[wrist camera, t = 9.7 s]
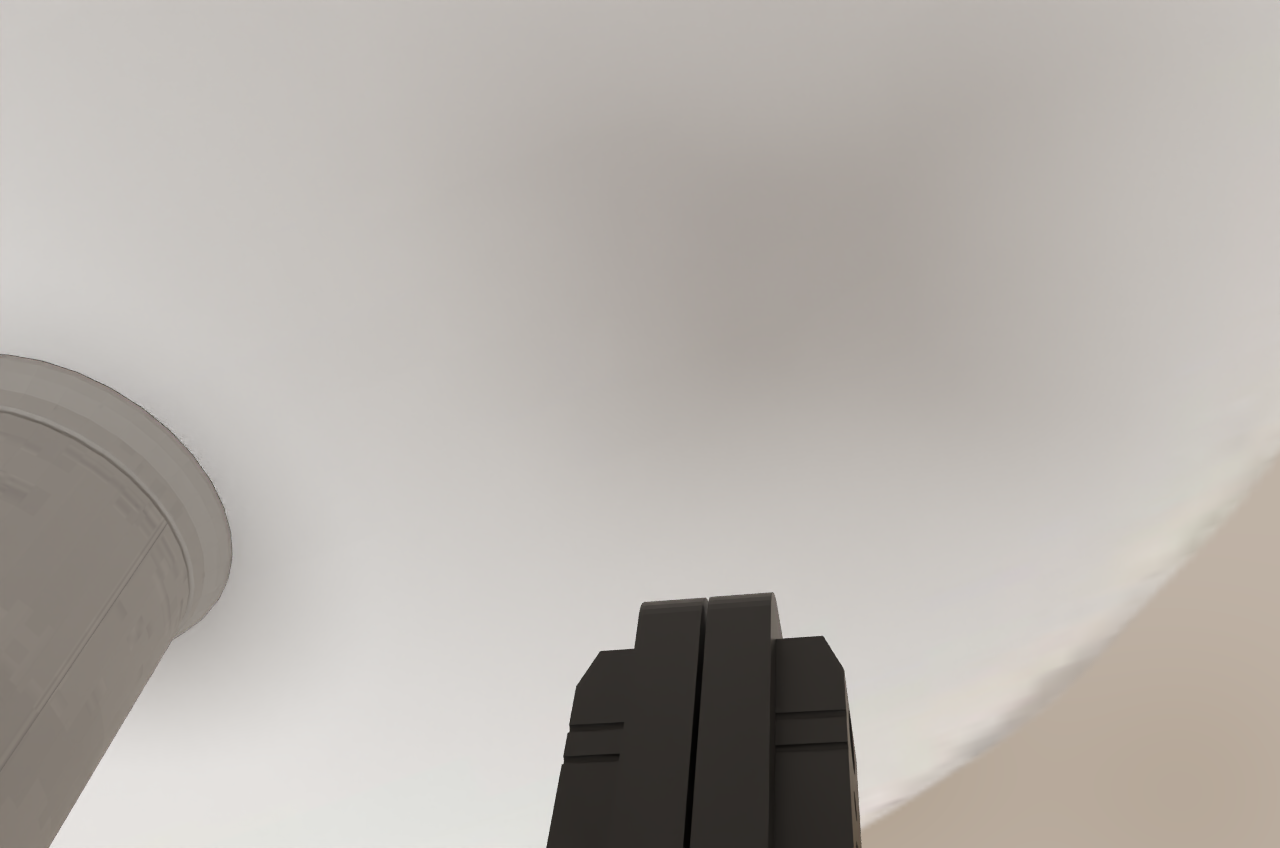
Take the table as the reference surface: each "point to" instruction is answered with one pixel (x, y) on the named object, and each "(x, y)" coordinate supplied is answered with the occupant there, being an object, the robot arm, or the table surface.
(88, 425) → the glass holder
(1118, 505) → the table surface
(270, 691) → the table surface
